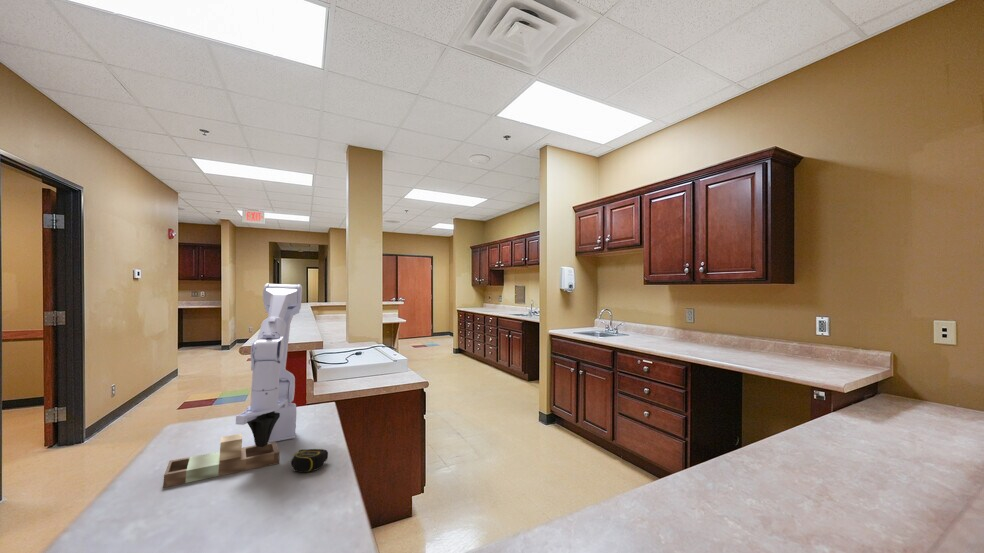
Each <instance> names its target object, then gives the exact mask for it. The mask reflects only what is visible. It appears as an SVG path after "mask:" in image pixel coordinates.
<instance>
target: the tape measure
mask: <svg viewBox="0 0 984 553" xmlns="http://www.w3.org/2000/svg"><path fill="white" fill-rule="evenodd" d="M328 457H329V451H328V450H326V449H323V448H321V449H320V448H308V449H307V448H306V449H299V450H298V451H297V452H296V453H295V454H294V455H293V458H292V459H291V461H290V464H291V465H290V466H291V467H292V469H293V471H294V472H298V473H310V472H312V471H314V472H315V471H317V470H319V469H321V468H322V467H323V466H324V465H325V462H326V461H327V460H328Z"/></svg>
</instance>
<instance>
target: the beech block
mask: <svg viewBox="0 0 984 553" xmlns="http://www.w3.org/2000/svg"><path fill="white" fill-rule="evenodd" d="M242 444H243V433H237V434H231V435H225V436H221V437H220V444H219V445H220V448H219V452H220V458H219V461H222V460H227V459H232V458H237V457H241V448H243V447H242V446H243V445H242Z"/></svg>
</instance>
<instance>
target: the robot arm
mask: <svg viewBox="0 0 984 553" xmlns="http://www.w3.org/2000/svg"><path fill="white" fill-rule="evenodd" d="M302 299H303V286H302V285H301V283H300V284H299V283H298V284H288V283H287V284H285V283H282V284H281V283H269V282H266V284H264V285H263V290H262V301H263V306H264V310H265V313H267V314H268V315H267V318H265V319H264V320H263V321H262V322H261V324H260V328H259V332H258V335H257V338H256V341H253V342H252V344H251V347H250V362H251V363H250V364H251V365H250V370H251V371H252V374H251V375H252V376H251V390H250V404H249V405H248V406H247V407H246V410H244V411H243V412H241V413H239V414H237V415H235V425H238V426H239V425H240V426H245V425H246V424H247V425H248V426H249V428H250V430H251V433H252V435H253V439H254V444H255V445H256V446H257V447H264V446H266V445H267V444H268V443H271V442H280V441H286V440H292V439H296V429H297V404H296V403H295V402H294V399H295V392H296V391H295V389H296V378H295V375H294V373H292V372H291V371H289V370H287V369H286V368H287V359H288V350H289V349H288V348H289V340H290V330H291V323H292V320H293V318H294V316H296V315H297V314H300V312H301V311H300V310H301V308H302V307H301V306H302Z"/></svg>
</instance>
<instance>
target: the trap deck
mask: <svg viewBox="0 0 984 553" xmlns="http://www.w3.org/2000/svg"><path fill="white" fill-rule="evenodd" d="M279 450H280V449H279V448H278V444H277V441H275V442H270V443H268V444H267V445H266V446H264V447H257V446H256V445H250V446H245V447H242V448H241V457H237V458H232V459H227V460H222V461H219V458H220V451H216V452H210V453H205V454H199V455H194V456H188V457H184V458H178V459H177V458H175V459H171V460H169V461H168V463H167V466H166V468H165V469H166V470H165V472H164V474H163V482H162V483H163V484H162V485H163V486H162V488H163V489H164V488H167V487H173V486H177V485H181V484H186V483H187V484H188V483H191V482H196V481H201V480H206V479H210V478H214V477H221V476H224V475H229V474H235V473H239V472H244V471H249V470H253V469H257V468H259V469H260V468H262V467H267V466H272V465H278V464H279V463H280V462H279V460H280V451H279Z"/></svg>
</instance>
